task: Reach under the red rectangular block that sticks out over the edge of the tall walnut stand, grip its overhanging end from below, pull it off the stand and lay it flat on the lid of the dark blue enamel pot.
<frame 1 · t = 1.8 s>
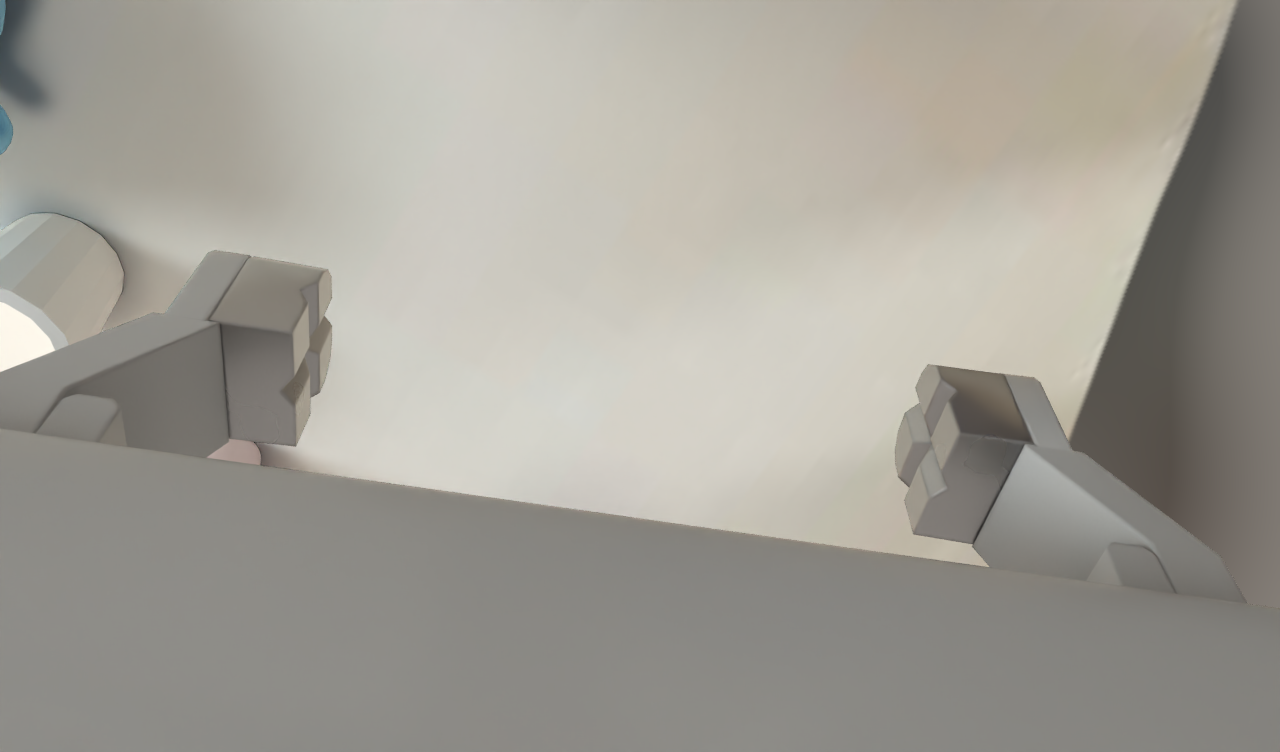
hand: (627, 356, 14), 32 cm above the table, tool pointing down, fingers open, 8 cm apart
shot glass: (65, 262, 51), on the table
smoothie: (228, 450, 58), on the table
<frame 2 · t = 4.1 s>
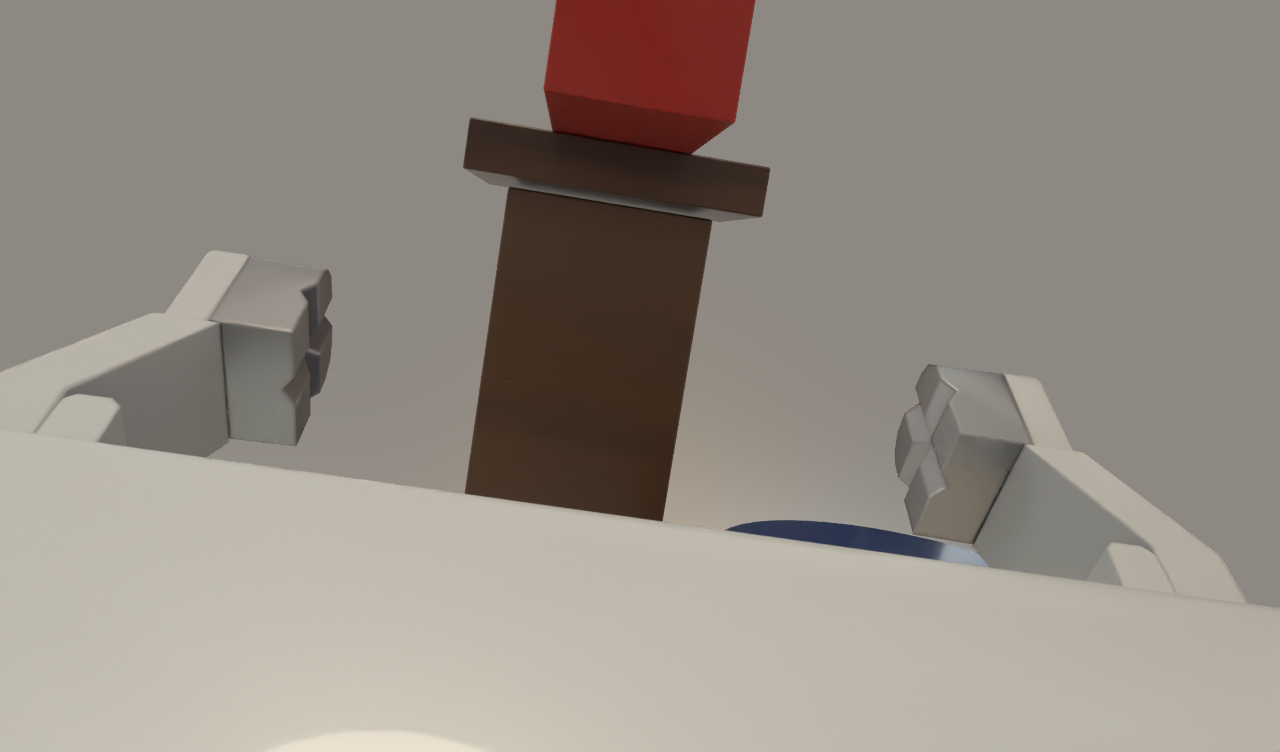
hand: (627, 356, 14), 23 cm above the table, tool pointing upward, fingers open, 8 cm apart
red rectangular block: (620, 146, 33), point 27 cm above the table, touching stand
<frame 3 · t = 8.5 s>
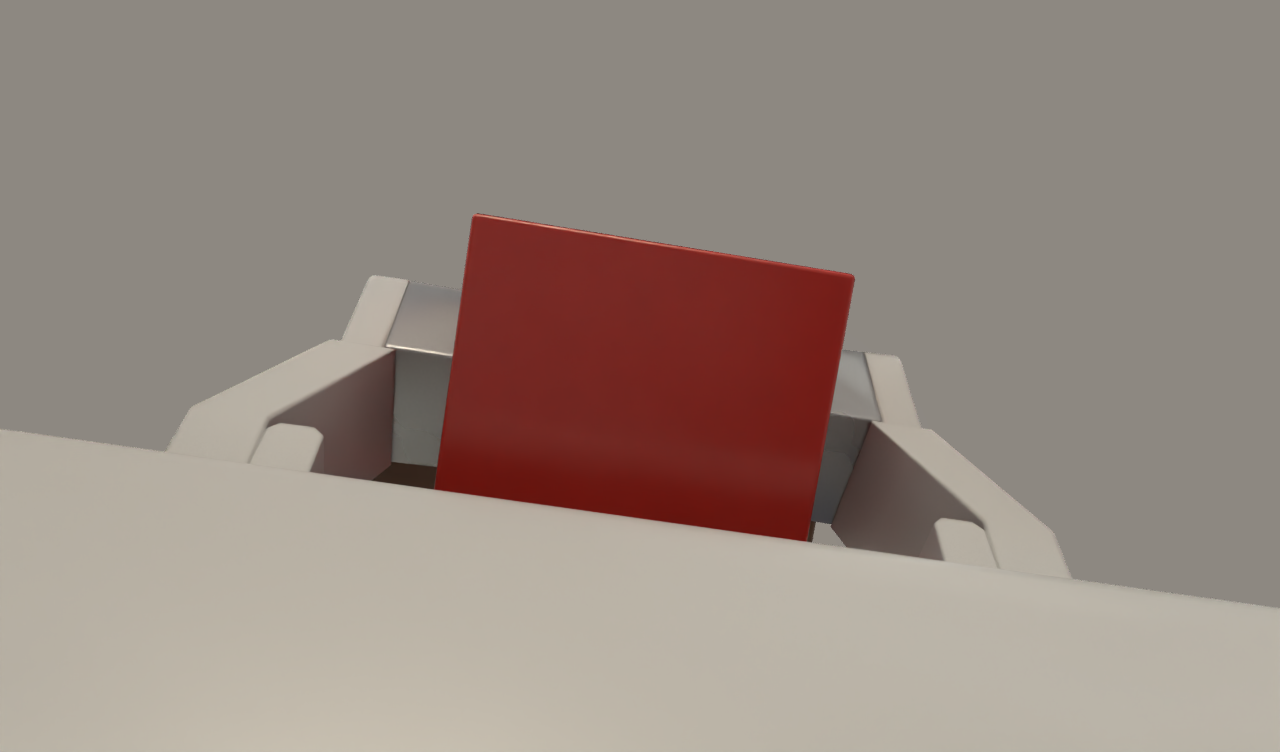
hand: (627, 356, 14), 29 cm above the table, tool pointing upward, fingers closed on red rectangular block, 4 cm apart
red rectangular block: (593, 438, 22), point 27 cm above the table, touching gripper, stand
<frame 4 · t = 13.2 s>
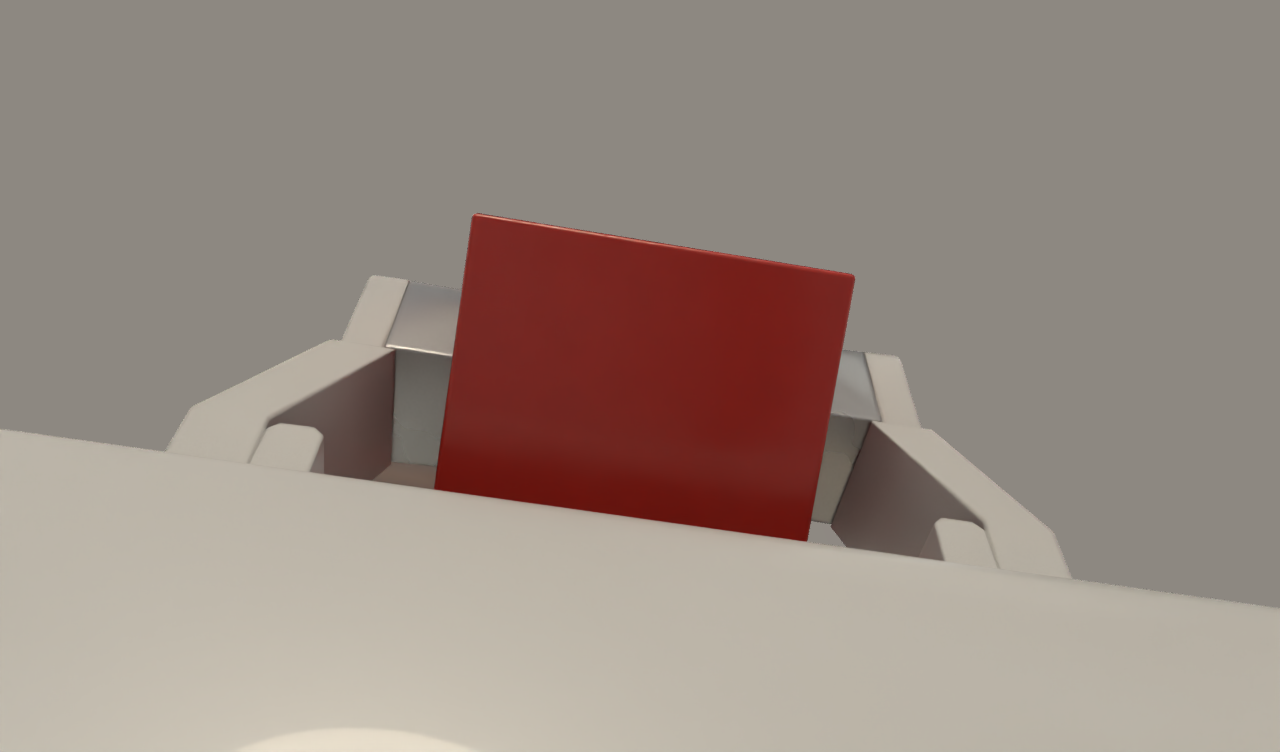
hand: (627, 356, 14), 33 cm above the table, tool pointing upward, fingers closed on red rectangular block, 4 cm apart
red rectangular block: (592, 438, 22), point 31 cm above the table, touching gripper
when the fingers open (19 cm above the table, at t = 17.9 s): red rectangular block stays where it is, resting on pot.
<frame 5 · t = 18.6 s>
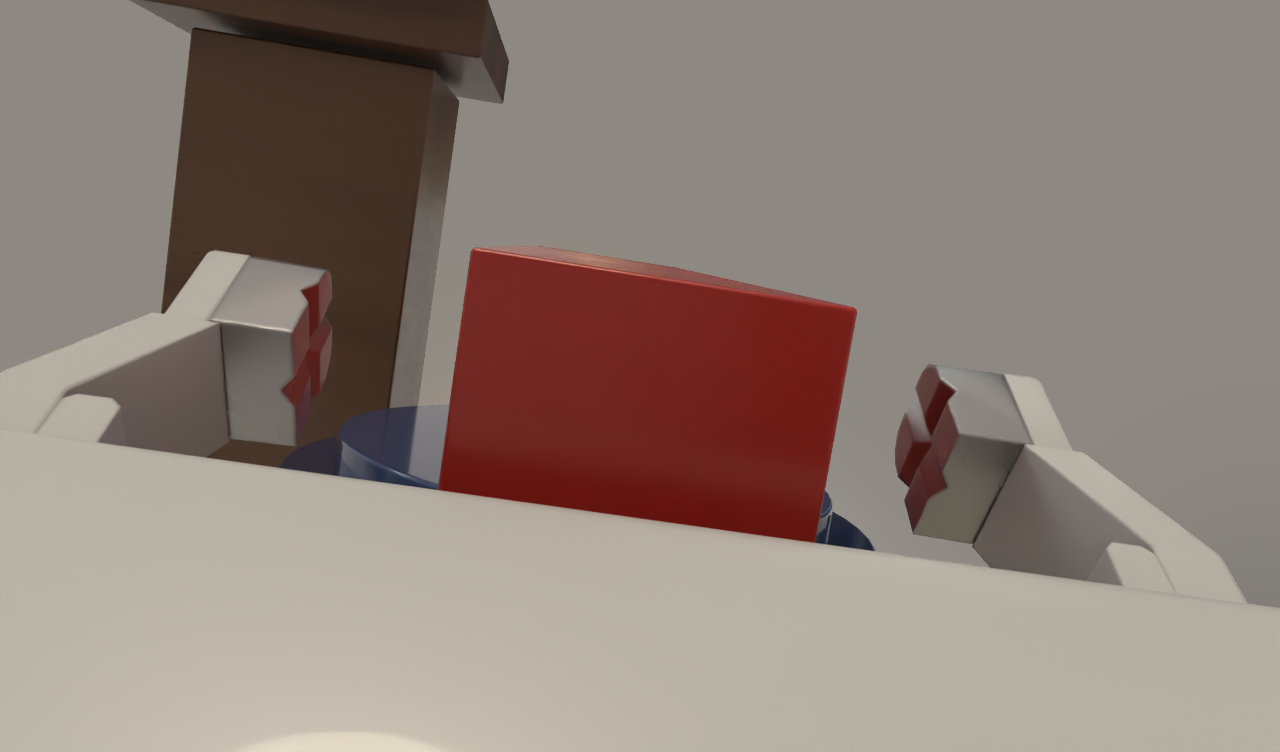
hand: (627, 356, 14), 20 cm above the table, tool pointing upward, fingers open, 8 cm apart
red rectangular block: (593, 456, 22), point 17 cm above the table, touching pot
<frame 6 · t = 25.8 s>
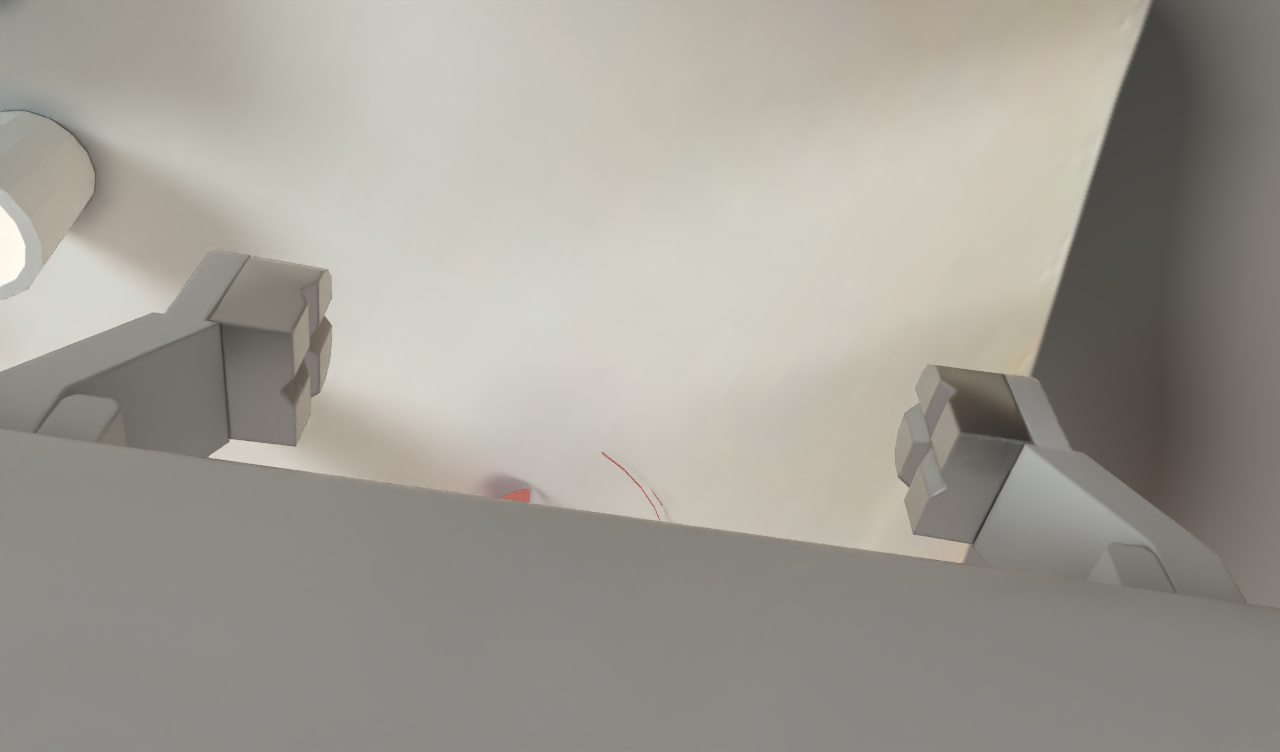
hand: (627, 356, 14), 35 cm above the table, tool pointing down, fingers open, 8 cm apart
figurine: (553, 559, 67), on the table
shot glass: (38, 163, 52), on the table
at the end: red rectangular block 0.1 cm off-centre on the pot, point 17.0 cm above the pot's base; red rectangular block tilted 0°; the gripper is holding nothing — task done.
